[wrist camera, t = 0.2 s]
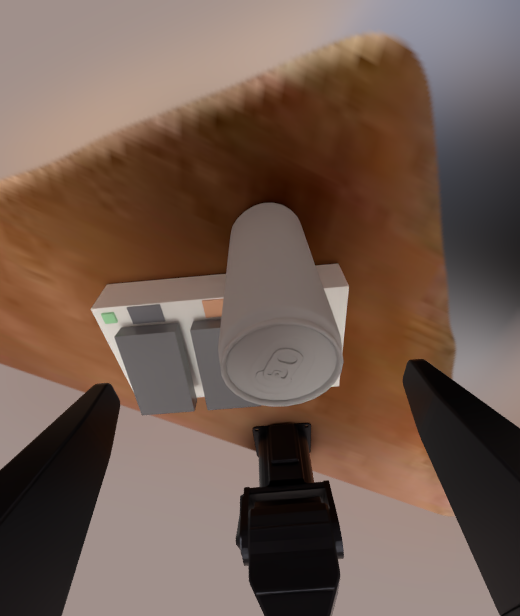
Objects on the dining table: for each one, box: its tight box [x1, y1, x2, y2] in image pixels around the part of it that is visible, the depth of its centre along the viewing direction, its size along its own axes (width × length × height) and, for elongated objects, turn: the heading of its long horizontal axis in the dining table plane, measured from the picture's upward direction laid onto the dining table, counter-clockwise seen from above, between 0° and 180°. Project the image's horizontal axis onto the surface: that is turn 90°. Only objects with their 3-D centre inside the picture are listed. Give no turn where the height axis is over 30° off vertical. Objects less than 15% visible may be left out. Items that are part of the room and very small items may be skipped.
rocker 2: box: [190, 319, 261, 410], centre depth 22 cm, size 7×4×1 cm, turn 5°
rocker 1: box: [114, 323, 197, 415], centre depth 23 cm, size 7×4×1 cm, turn 5°
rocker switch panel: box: [91, 264, 349, 397], centre depth 25 cm, size 10×17×3 cm, turn 95°
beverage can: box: [218, 203, 343, 407], centre depth 16 cm, size 5×5×12 cm
